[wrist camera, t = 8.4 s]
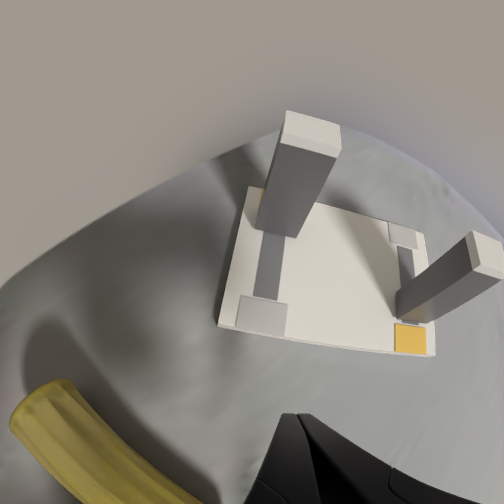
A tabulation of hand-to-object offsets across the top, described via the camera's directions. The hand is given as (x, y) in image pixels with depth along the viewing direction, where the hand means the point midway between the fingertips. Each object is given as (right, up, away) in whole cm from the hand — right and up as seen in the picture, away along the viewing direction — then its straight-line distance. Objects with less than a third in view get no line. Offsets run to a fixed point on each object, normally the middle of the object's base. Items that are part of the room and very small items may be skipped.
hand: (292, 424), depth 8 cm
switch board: (+7, +3, +17) cm, 19 cm away
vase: (-15, -5, +6) cm, 16 cm away
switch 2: (+13, 0, +15) cm, 20 cm away
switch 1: (+1, +8, +18) cm, 19 cm away
